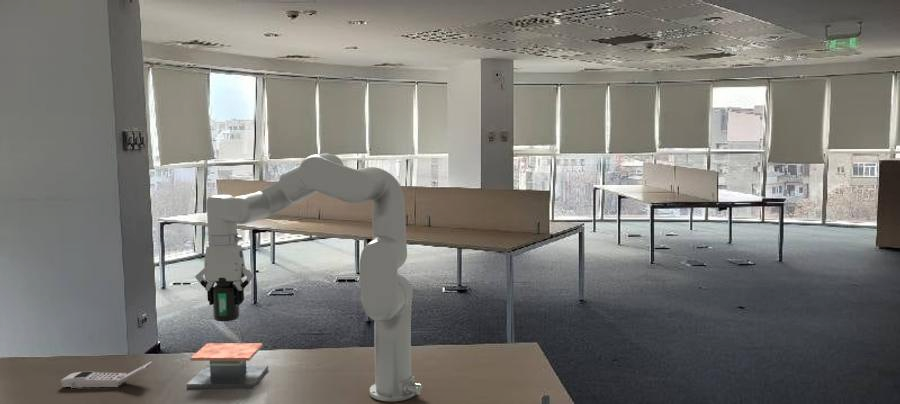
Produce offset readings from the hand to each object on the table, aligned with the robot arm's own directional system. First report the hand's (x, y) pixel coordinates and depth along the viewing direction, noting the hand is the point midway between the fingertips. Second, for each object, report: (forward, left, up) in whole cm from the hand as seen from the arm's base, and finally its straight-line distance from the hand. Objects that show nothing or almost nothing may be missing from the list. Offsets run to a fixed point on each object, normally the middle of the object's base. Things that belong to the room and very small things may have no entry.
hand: (226, 303), depth 186 cm
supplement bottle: (0, 0, -4) cm, 4 cm away
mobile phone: (+26, +21, -22) cm, 40 cm away
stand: (0, 0, -22) cm, 22 cm away
